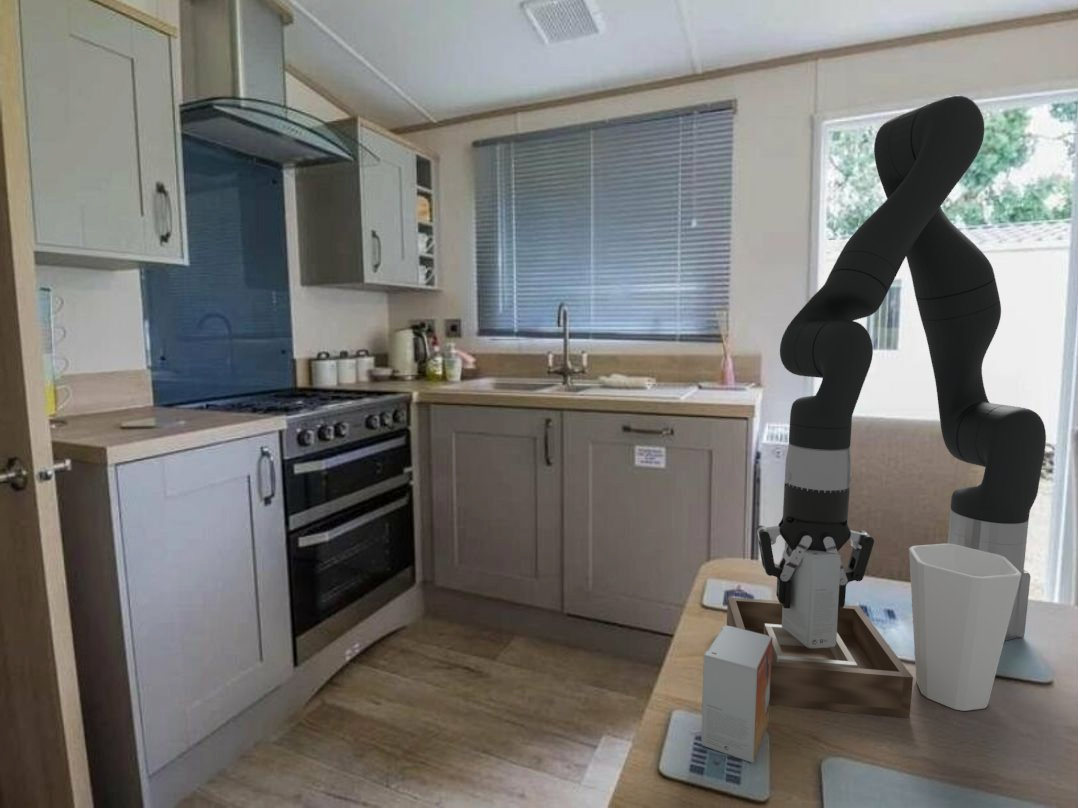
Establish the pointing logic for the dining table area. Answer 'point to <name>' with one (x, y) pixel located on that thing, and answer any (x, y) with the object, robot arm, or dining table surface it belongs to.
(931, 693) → the cup
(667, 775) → the dining table surface
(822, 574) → the skincare box
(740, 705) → the small box
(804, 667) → the walled box
